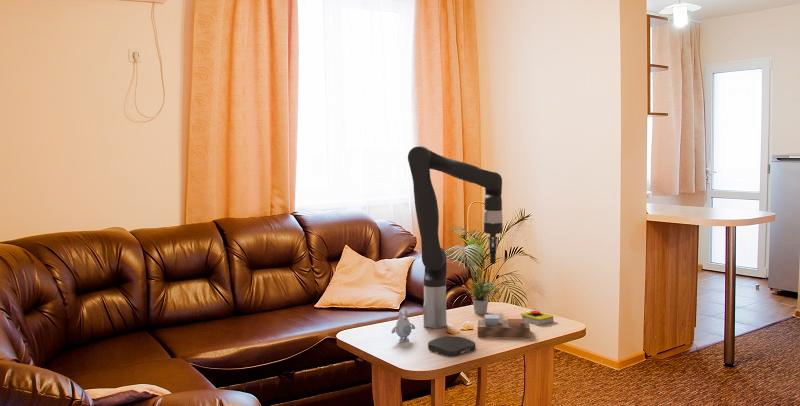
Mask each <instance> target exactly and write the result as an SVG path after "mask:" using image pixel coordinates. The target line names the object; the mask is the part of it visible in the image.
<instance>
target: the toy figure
mask: <svg viewBox="0 0 800 406" xmlns="http://www.w3.org/2000/svg"><path fill="white" fill-rule="evenodd" d="M398 315H399V317H398V319H397V321H396V324H395V326H394V327H393V328H392V329H391V334H392V335H393V334H394V333H396V335H397V336H398V337H399V339H398V341H399V343H403V342H408V341H410V338H408V337H409V336H411V333H412V330H415V329H416V326H415V324H413V323H411V322H410V319H409V317H408V316H407V315H408V310H406V309H405V310H404V311H403V312H402V311H401V310H400V311H399V312H398Z"/></svg>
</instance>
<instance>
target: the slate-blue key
mask: <svg viewBox="0 0 800 406" xmlns="http://www.w3.org/2000/svg"><path fill="white" fill-rule="evenodd" d="M484 320H485V322H486V325H498V323H499V320H500V314H487V313H486V314H484Z"/></svg>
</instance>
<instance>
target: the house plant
mask: <svg viewBox="0 0 800 406" xmlns="http://www.w3.org/2000/svg"><path fill="white" fill-rule="evenodd" d="M479 279H480V278H479V277H478V276H477V283H475V282H474V281H473V280H472V279H469V280H470V282H471V283H469V286H471V288H472V289H473V290H471V291H470V290H469V291H467V293H471V294H473V295H474V297H473V298H472V304H473V311H474V314H475V315H485V314H486V315H487V311H488V304H489V298H487V297H485V296H486V295H490V294H493V291H491V289H492V287H491V288H489V289H488V287H490V286H492V285H491V284H495V283H496V280H495V279H494V280H491V281H489V282H488V283H487V284H486V285H485V277H484V276H483V277H482V280H481V281H480V280H479Z"/></svg>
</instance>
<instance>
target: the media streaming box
mask: <svg viewBox="0 0 800 406" xmlns="http://www.w3.org/2000/svg"><path fill="white" fill-rule="evenodd" d="M427 348H428V351H430V352H433V353H436V354H438V355H441V356H444V357H448V358H449V357H451V358H452V357H453V358H454V357H459V356H462V355H466V354H469V353H471V352H474V351H476V342H474V341H473V340H471V339H469V338H466V337H462V336H455V335H454V336H453V335H452V336H440V337H437V338H434V339H432V340H429V341H428V343H427Z"/></svg>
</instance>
